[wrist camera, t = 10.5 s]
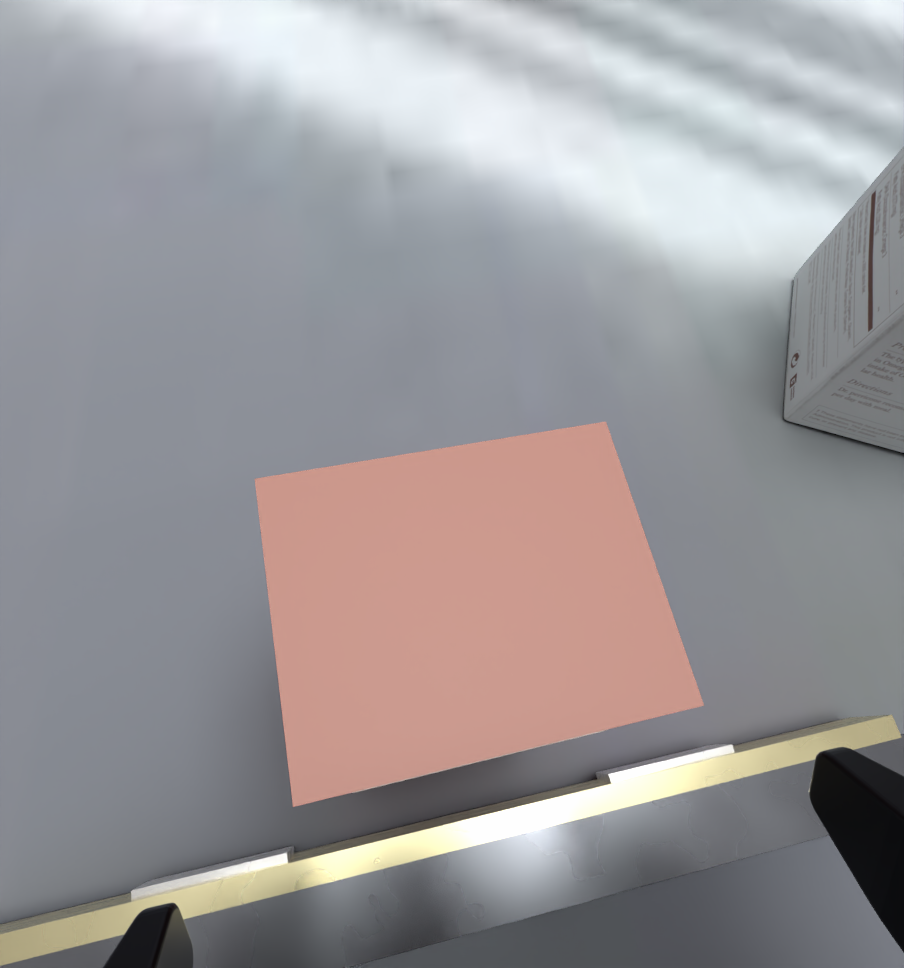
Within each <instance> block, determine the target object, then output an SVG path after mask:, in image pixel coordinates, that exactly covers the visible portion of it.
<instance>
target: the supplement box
mask: <svg viewBox="0 0 904 968" xmlns="http://www.w3.org/2000/svg"><path fill="white" fill-rule="evenodd" d="M784 419H785V420H787V421H790V422H793V423H797V424H801V425H805V426H808V427H812V428H816V429H819V430H823V431H826V432H830V433H834V434H837V435H841V436H845V437H848V438H852V439H855V440H859V441H862V442H866V443H870V444H873V445H877V446H881V447H884V448H888V449H891V450H895V451H898V452H902V453H904V147H903V148H902V149H901V150H900V152H899V153H898V154H897V155H896V156H895V158H894V159H893V160H892V161H891V162H890V163H889V165H888V166H887V167H886V168H885V169H884V170H883V171H882V173H881V174H880V175H879V176H878V177H877V178H876V180H875V181H874V182H873V183H872V184H871V186H870V187H869V188H868V189H867V190H866V191H865V193H864V194H863V195H862V196H861V197H860V198H859V199H858V200H857V202H856V203H855V205H854V206H853V207H852V208H851V209H850V210H849V212H848V213H847V214H846V215H845V216H844V217H843V219H842V220H841V221H840V222H839V223H838V224H837V226H836V227H835V228H834V229H833V230H832V232H831V233H830V234H829V235H828V236H827V237H826V239H825V240H824V241H823V242H822V243H821V244H820V246H819V247H818V248H817V249H816V250H815V251H814V253H813V254H812V255H811V256H810V257H809V259H808V260H807V261H806V262H805V263H804V264H803V266H802V267H801V268H800V269H799V271H798V272H797V273H796V275H795V277H794V286H793V295H792V306H791V317H790V334H789V344H788V357H787V369H786V384H785V399H784Z"/></svg>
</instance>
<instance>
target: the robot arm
mask: <svg viewBox="0 0 904 968" xmlns="http://www.w3.org/2000/svg"><path fill="white" fill-rule="evenodd" d="M809 797H810V801H811V804H812V806H813V808H814V810H815V812H816V814H817V815H818V817H819V819H820V820H821V822H822V824H823V826H824V827H825V829H826V831H827V832H828V834H829V836H830V837H831V839H832V841H833V842H834V844H835V846H836V847H837V849H838V851H839V852H840V854H841V856H842V857H843V859H844V861H845V862H846V864H847V866H848V867H849V869H850V871H851V872H852V874H853V876H854V877H855V879H856V881H857V882H858V884H859V886H860V887H861V889H862V891H863V892H864V894H865V896H866V897H867V899H868V901H869V902H870V904H871V905H872V907H873V908H874V910H875V912H876V913H877V915H878V916H879V918H880V919H881V921H882V922H883V924H884V925H885V927H886V928H887V929H888V931H889V932H890V934H891V935H892V937H893V938H894V939H895V941H896V942H897V944H898V945H899V946H900V948H901V949H902V951H903V952H904V776H902V775H901V774H899V773H897V772H895V771H893V770H891V769H889V768H887V767H885V766H883V765H881V764H879V763H877V762H876V761H874V760H872V759H870V758H868V757H866V756H864V755H862V754H860V753H858V752H856V751H854V750H852V749H850V748H847V747H837V748H833V749H829V750H825V751H821V752H819V753H818V754H817V756H816V758H815V763H814V768H813V773H812V778H811V783H810V788H809ZM103 968H193V946H192V942H191V939H190V936H189V933H188V931H187V928H186V925H185V923H184V920H183V917H182V914H181V912H180V909H179V907H178V906H177V905H176V904H175V903H167V904H163V905H158V906H154V907H150V908H146V909H144V910H142V911H141V912H140V913H139V914H138V915H137V916H136V918H135V919H134V920H133V922H132V923H131V925H130V927H129V928H128V930H127V931H126V933H125V934H124V936H123V937H122V939H121V940H120V942H119V943H118V945H117V946H116V948H115V949H114V951H113V952H112V954H111V955H110V957H109V958H108V960H107V961H106V963H105V965H104V966H103Z"/></svg>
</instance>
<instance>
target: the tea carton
mask: <svg viewBox="0 0 904 968" xmlns="http://www.w3.org/2000/svg"><path fill="white" fill-rule="evenodd" d="M255 485H256V493H257V502H258V511H259V519H260V528H261V536H262V545H263V553H264V562H265V571H266V579H267V588H268V596H269V605H270V613H271V622H272V631H273V639H274V648H275V656H276V665H277V674H278V682H279V691H280V699H281V708H282V716H283V725H284V734H285V742H286V751H287V759H288V768H289V776H290V785H291V794H292V802H293V807H295V806H299V805H303V804H307V803H311V802H315V801H319V800H324V799H328V798H332V797H336V796H340V795H344V794H348V793H352V792H353V793H356V792H360V791H364V790H368V789H372V788H376V787H380V786H384V785H388V784H392V783H396V782H400V781H404V780H408V779H412V778H416V777H420V776H424V775H428V774H432V773H437V772H441V771H445V770H449V769H453V768H457V767H461V766H465V765H469V764H473V763H477V762H481V761H485V760H489V759H493V758H497V757H501V756H505V755H509V754H513V753H517V752H521V751H525V750H530V749H534V748H538V747H542V746H546V745H550V744H554V743H558V742H562V741H566V740H570V739H574V738H578V737H582V736H586V735H590V734H594V733H598V732H602V731H606V730H607V729H611V728H615V727H619V726H623V725H627V724H631V723H635V722H639V721H643V720H647V719H651V718H655V717H659V716H663V715H667V714H671V713H676V712H680V711H684V710H688V709H692V708H696V707H700V706H704V704H703V701H702V698H701V695H700V692H699V689H698V687H697V684H696V681H695V678H694V675H693V672H692V669H691V666H690V663H689V661H688V658H687V655H686V652H685V649H684V646H683V643H682V640H681V637H680V634H679V632H678V629H677V626H676V623H675V620H674V617H673V614H672V611H671V608H670V606H669V603H668V600H667V597H666V594H665V591H664V588H663V585H662V582H661V580H660V577H659V574H658V571H657V568H656V565H655V562H654V559H653V556H652V554H651V551H650V548H649V545H648V542H647V539H646V536H645V533H644V530H643V527H642V525H641V522H640V519H639V516H638V513H637V510H636V507H635V504H634V501H633V499H632V496H631V493H630V490H629V487H628V484H627V481H626V478H625V475H624V473H623V470H622V467H621V464H620V461H619V458H618V455H617V452H616V449H615V447H614V444H613V441H612V438H611V435H610V432H609V429H608V426H607V423H606V422H601V423H595V424H588V425H582V426H576V427H570V428H564V429H558V430H552V431H545V432H539V433H533V434H527V435H521V436H515V437H509V438H502V439H496V440H490V441H484V442H478V443H472V444H466V445H459V446H453V447H447V448H441V449H435V450H429V451H423V452H416V453H410V454H404V455H398V456H392V457H386V458H380V459H373V460H367V461H361V462H355V463H349V464H343V465H337V466H330V467H324V468H318V469H312V470H306V471H300V472H294V473H287V474H281V475H275V476H269V477H263V478H257V479H255Z"/></svg>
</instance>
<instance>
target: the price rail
mask: <svg viewBox="0 0 904 968" xmlns="http://www.w3.org/2000/svg"><path fill="white" fill-rule="evenodd" d="M837 747H847V748H850V749H852V750H854V751H856V752H858V753H860V754H862V755H864V756H866V757H868V758H870V759H872V760H874V761H876V762H877V763H879V764H881V765H883V766H885V767H887V768H889V769H891V770H893V771H895V772H897V773H899V774H901V775H902V776H904V734H900V732H899V730H898V728H897V725H896V723H895V721H894V718H893V716H892V715H883V716H867V717H851V718H846V719H841V720H837V721H833V722H829V723H825V724H821V725H817V726H813V727H809V728H805V729H800V730H796V731H792V732H788V733H784V734H780V735H776V736H772V737H768V738H763V739H759V740H755V741H751V742H747V743H743V744H739V745H735V746H732V744H712V745H708V746H703V747H699V748H695V749H691V750H687V751H683V752H679V753H674V754H670V755H666V756H662V757H658V758H654V759H650V760H646V761H641V762H637V763H633V764H629V765H625V766H621V767H617V768H612V769H608V770H604V771H600V772H596V776H597V779H595V780H591V781H587V782H583V783H579V784H575V785H571V786H567V787H563V788H558V789H554V790H550V791H546V792H542V793H538V794H534V795H530V796H526V797H521V798H517V799H513V800H509V801H505V802H501V803H497V804H493V805H489V806H485V807H480V808H476V809H472V810H468V811H464V812H460V813H456V814H452V815H448V816H444V817H439V818H435V819H431V820H427V821H423V822H419V823H415V824H411V825H407V826H403V827H398V828H394V829H390V830H386V831H382V832H378V833H374V834H370V835H366V836H362V837H357V838H353V839H349V840H345V841H341V842H337V843H333V844H329V845H325V846H321V847H316V848H312V849H308V850H304V851H300V852H296V853H294V846H290V847H286V848H282V849H278V850H274V851H269V852H265V853H261V854H257V855H253V856H249V857H245V858H241V859H236V860H232V861H228V862H224V863H220V864H216V865H212V866H208V867H203V868H199V869H195V870H191V871H187V872H183V873H179V874H174V875H170V876H166V877H162V878H158V879H154V880H150V881H148V882H146V883H144V884H142V885H140V886H139V887H137V888H135V889H133V890H131V893H128V894H124V895H120V896H115V897H111V898H107V899H103V900H99V901H95V902H91V903H87V904H83V905H79V906H74V907H70V908H66V909H62V910H58V911H54V912H50V913H46V914H42V915H38V916H33V917H29V918H25V919H21V920H17V921H13V922H9V923H5V924H1V925H0V968H103V966H104V965H105V963H106V961H107V960H108V958H109V957H110V955H111V954H112V952H113V951H114V949H115V948H116V946H117V945H118V943H119V942H120V940H121V939H122V937H123V936H124V934H125V933H126V931H127V930H128V928H129V927H130V925H131V923H132V922H133V920H134V919H135V918H136V916H137V915H138V914H139V913H140V912H141V911H142V910H144V909H146V908H150V907H154V906H158V905H163V904H167V903H175V904H176V905H177V906H178V907H179V909H180V912H181V914H182V917H183V920H184V923H185V925H186V928H187V931H188V933H189V936H190V939H191V942H192V946H193V968H348V967H351V966H355V965H359V964H362V963H366V962H370V961H373V960H377V959H381V958H384V957H388V956H391V955H395V954H399V953H402V952H406V951H410V950H413V949H417V948H420V947H424V946H428V945H431V944H435V943H439V942H442V941H446V940H450V939H453V938H457V937H460V936H464V935H468V934H471V933H475V932H479V931H482V930H486V929H489V928H493V927H497V926H500V925H504V924H508V923H511V922H515V921H518V920H522V919H526V918H529V917H533V916H537V915H540V914H544V913H548V912H551V911H555V910H558V909H562V908H566V907H569V906H573V905H577V904H580V903H584V902H587V901H591V900H595V899H598V898H602V897H606V896H609V895H613V894H617V893H620V892H624V891H627V890H631V889H635V888H638V887H642V886H646V885H649V884H653V883H656V882H660V881H664V880H667V879H671V878H675V877H678V876H682V875H686V874H689V873H693V872H696V871H700V870H704V869H707V868H711V867H715V866H718V865H722V864H725V863H729V862H733V861H736V860H740V859H744V858H747V857H751V856H754V855H758V854H762V853H765V852H769V851H773V850H776V849H780V848H784V847H787V846H791V845H794V844H798V843H802V842H805V841H809V840H813V839H816V838H820V837H823V836H827V835H829V834H828V832H827V831H826V829H825V827H824V826H823V824H822V822H821V820H820V819H819V817H818V815H817V814H816V812H815V810H814V808H813V806H812V804H811V801H810V797H809V788H810V783H811V778H812V773H813V768H814V763H815V758H816V756H817V754H818V753H819V752H821V751H825V750H829V749H833V748H837Z"/></svg>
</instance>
